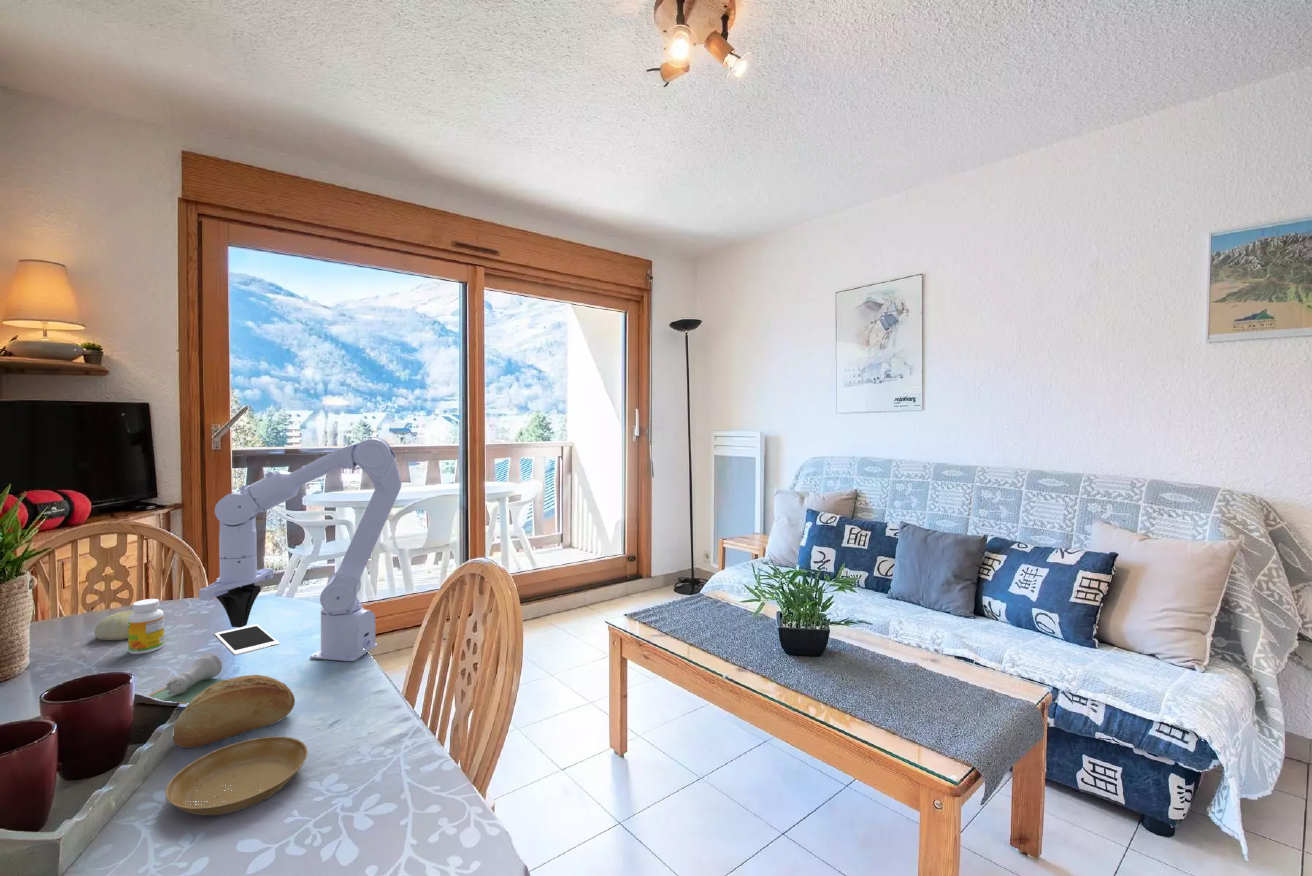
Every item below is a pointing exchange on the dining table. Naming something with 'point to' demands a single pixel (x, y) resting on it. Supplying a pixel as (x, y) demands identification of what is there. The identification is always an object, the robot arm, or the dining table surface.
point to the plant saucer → (236, 775)
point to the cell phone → (246, 639)
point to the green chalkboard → (189, 693)
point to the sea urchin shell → (114, 626)
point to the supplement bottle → (145, 627)
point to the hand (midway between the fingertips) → (239, 626)
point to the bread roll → (232, 709)
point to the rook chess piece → (195, 674)
